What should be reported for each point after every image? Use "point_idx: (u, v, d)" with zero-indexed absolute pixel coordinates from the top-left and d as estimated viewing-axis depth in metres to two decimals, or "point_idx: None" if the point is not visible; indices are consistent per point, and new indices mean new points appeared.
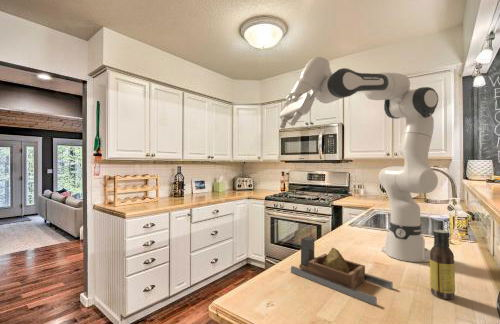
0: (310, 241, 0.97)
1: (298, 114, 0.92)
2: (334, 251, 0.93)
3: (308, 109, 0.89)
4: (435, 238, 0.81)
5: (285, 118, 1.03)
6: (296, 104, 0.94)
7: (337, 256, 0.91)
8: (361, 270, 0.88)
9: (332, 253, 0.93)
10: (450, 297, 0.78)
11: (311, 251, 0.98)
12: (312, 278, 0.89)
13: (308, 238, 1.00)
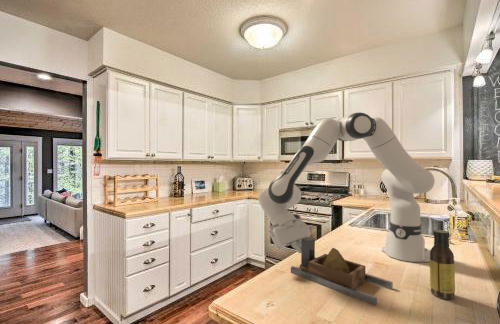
0: (310, 241, 0.97)
1: (293, 244, 1.01)
2: (334, 251, 0.93)
3: (279, 242, 0.97)
4: (435, 238, 0.81)
5: (297, 242, 1.04)
6: None
7: (337, 256, 0.91)
8: (362, 270, 0.87)
9: (332, 253, 0.93)
10: (450, 297, 0.78)
11: (311, 251, 0.98)
12: (312, 278, 0.89)
13: (308, 238, 0.99)
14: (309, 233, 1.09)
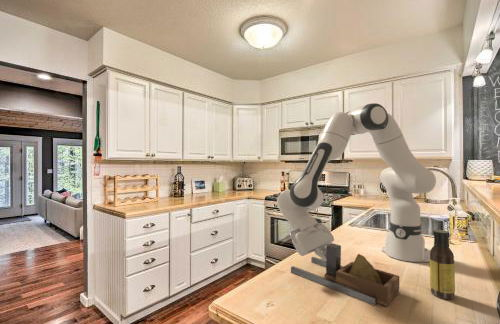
0: (337, 248, 0.90)
1: (316, 251, 0.94)
2: (362, 258, 0.87)
3: (303, 249, 0.89)
4: (435, 238, 0.81)
5: (321, 248, 0.97)
6: None
7: (367, 263, 0.85)
8: (396, 281, 0.80)
9: (359, 260, 0.87)
10: (450, 297, 0.78)
11: (338, 259, 0.90)
12: (312, 278, 0.89)
13: (334, 245, 0.92)
14: (332, 239, 1.01)
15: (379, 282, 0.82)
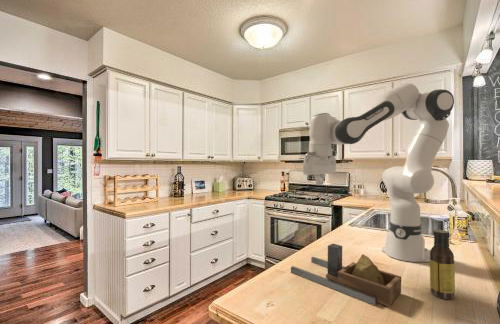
0: (338, 249, 0.89)
1: (316, 175, 1.07)
2: (365, 258, 0.86)
3: (308, 171, 1.01)
4: (435, 238, 0.81)
5: (320, 174, 1.10)
6: None
7: (370, 264, 0.84)
8: (398, 282, 0.79)
9: (362, 260, 0.87)
10: (450, 297, 0.78)
11: (339, 260, 0.90)
12: (312, 278, 0.89)
13: (335, 245, 0.91)
14: (333, 171, 1.13)
15: (382, 283, 0.81)
